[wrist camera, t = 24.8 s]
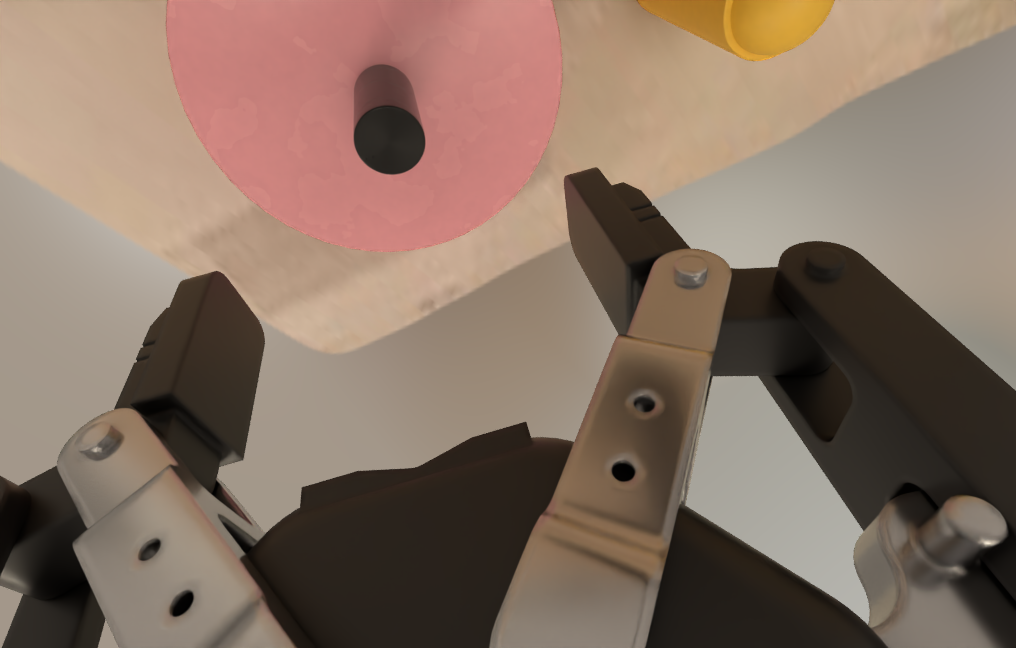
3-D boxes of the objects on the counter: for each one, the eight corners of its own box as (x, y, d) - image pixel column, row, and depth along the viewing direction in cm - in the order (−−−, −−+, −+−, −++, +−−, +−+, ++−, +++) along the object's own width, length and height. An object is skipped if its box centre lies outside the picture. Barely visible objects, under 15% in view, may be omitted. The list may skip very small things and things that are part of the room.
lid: (80, -162, 15) (-30, -173, 11) (567, -163, 17) (636, -172, 13) (257, 258, 25) (237, 337, 21) (547, 221, 28) (582, 286, 23)
